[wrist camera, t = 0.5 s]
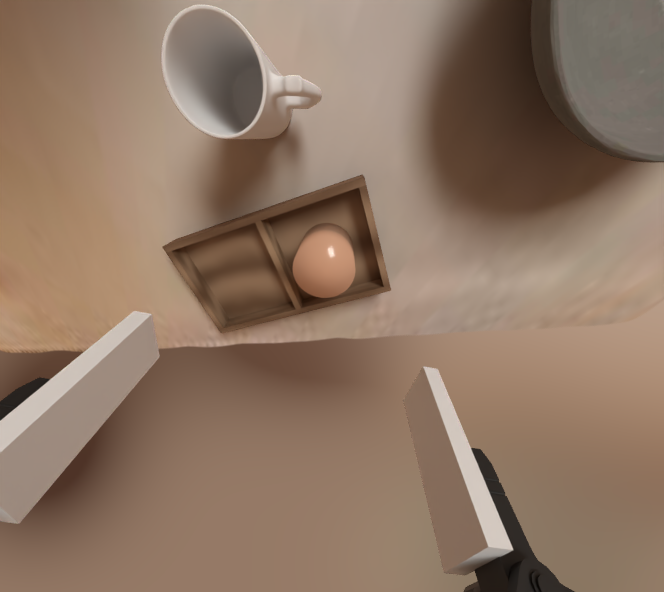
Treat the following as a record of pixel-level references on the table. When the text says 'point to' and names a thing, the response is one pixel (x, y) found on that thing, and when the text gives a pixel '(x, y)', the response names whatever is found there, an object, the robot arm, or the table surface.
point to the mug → (228, 77)
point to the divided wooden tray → (277, 257)
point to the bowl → (604, 72)
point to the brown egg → (325, 261)
